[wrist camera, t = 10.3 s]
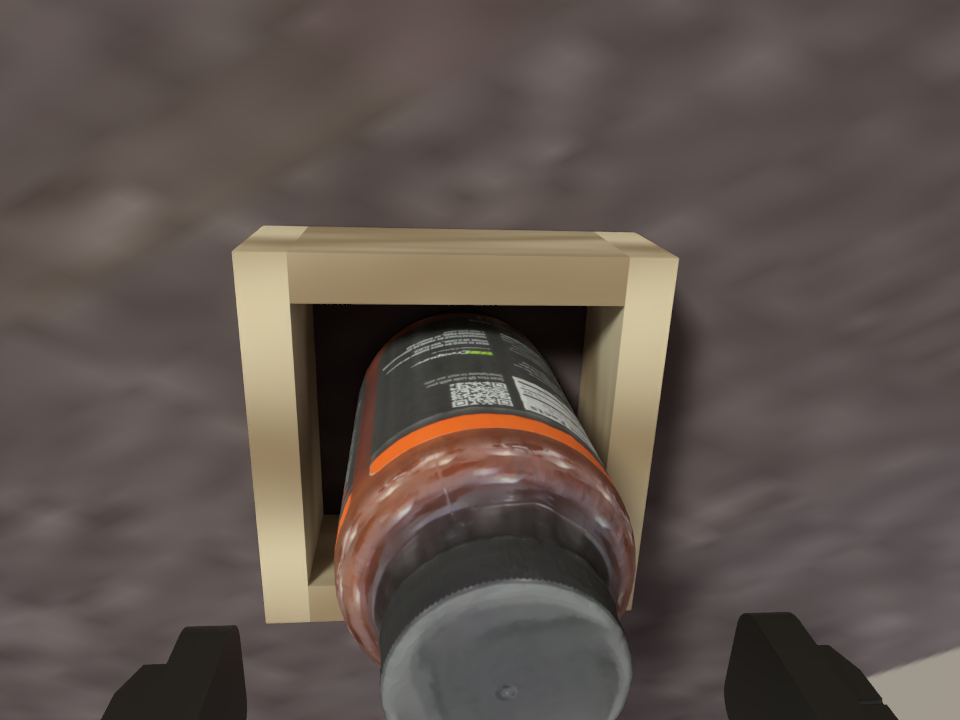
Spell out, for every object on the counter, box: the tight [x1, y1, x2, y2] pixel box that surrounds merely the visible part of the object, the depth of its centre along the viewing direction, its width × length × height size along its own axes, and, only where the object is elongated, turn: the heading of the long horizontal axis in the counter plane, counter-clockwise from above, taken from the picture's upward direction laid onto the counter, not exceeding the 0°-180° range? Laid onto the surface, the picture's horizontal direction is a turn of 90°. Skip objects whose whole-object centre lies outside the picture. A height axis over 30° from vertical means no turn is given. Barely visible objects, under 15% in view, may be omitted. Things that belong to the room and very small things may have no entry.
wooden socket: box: [232, 226, 679, 623], centre depth 19 cm, size 10×10×4 cm
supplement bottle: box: [334, 312, 636, 720], centre depth 16 cm, size 6×6×11 cm
